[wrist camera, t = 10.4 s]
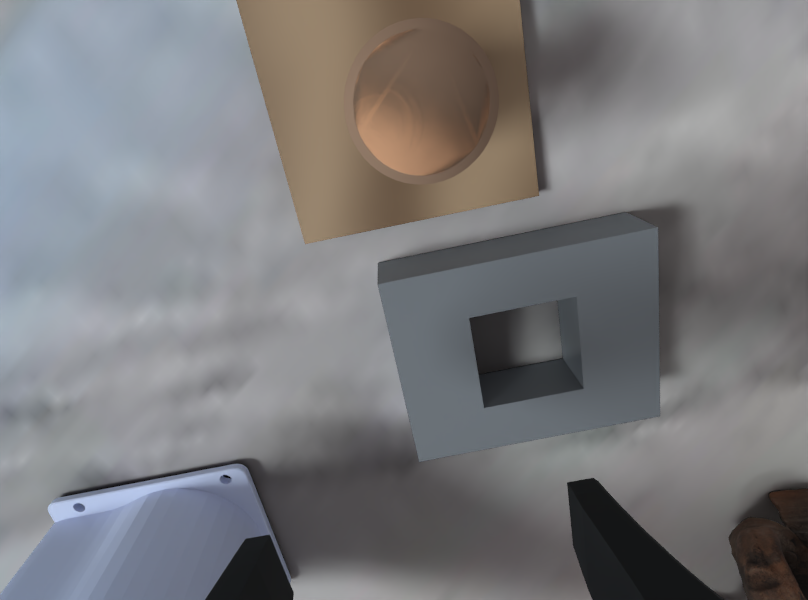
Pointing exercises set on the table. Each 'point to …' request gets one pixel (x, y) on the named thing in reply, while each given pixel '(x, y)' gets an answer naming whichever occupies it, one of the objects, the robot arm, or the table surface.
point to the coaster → (325, 119)
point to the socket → (515, 288)
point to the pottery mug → (775, 550)
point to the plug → (421, 101)
